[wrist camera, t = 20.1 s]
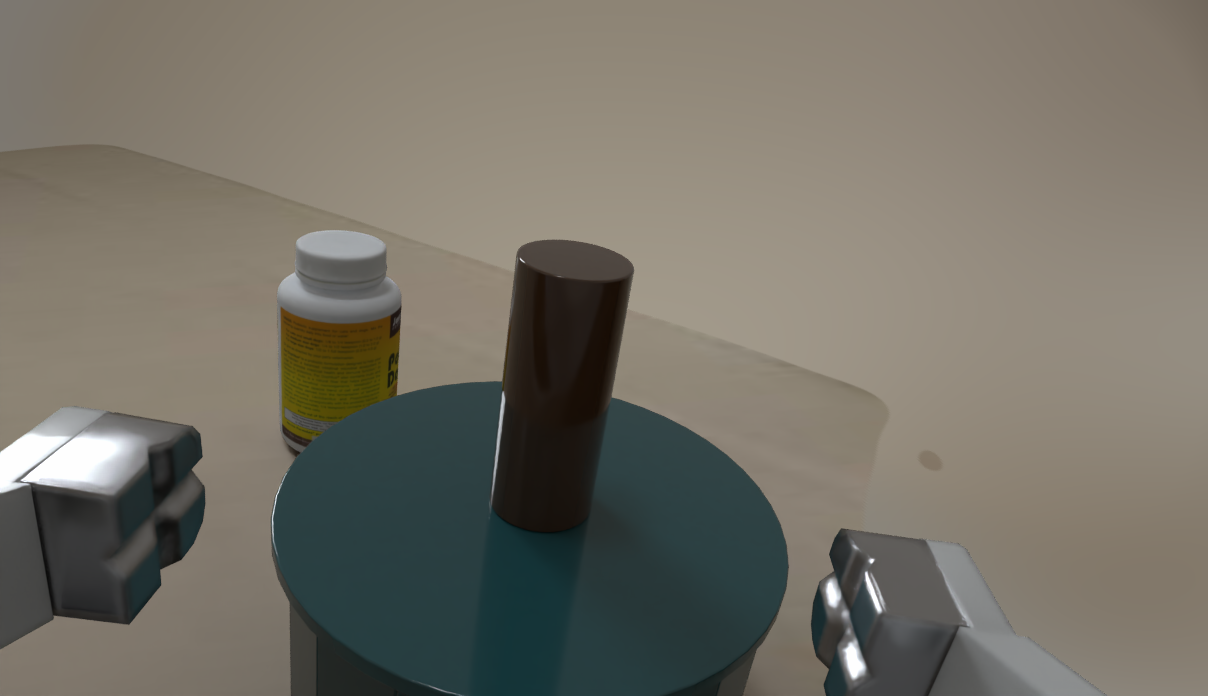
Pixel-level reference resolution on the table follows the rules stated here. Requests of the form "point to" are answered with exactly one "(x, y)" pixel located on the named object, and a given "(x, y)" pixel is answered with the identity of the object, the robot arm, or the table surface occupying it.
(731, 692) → the pot
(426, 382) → the table surface
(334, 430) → the lid
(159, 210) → the table surface
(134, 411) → the table surface
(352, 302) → the supplement bottle
